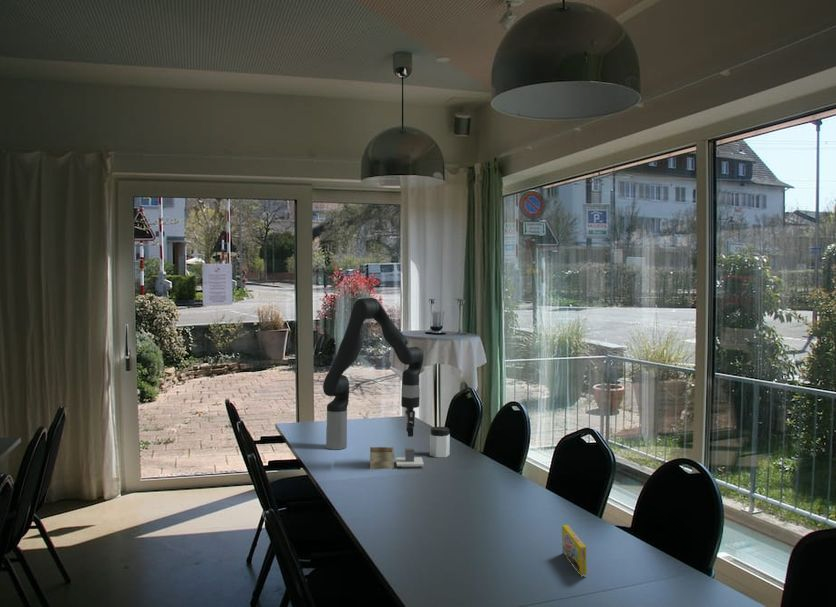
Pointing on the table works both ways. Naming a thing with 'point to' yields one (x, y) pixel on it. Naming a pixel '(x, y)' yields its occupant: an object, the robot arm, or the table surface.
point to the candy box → (574, 549)
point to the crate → (381, 457)
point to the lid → (409, 459)
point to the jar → (439, 442)
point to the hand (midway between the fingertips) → (409, 434)
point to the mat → (410, 467)
